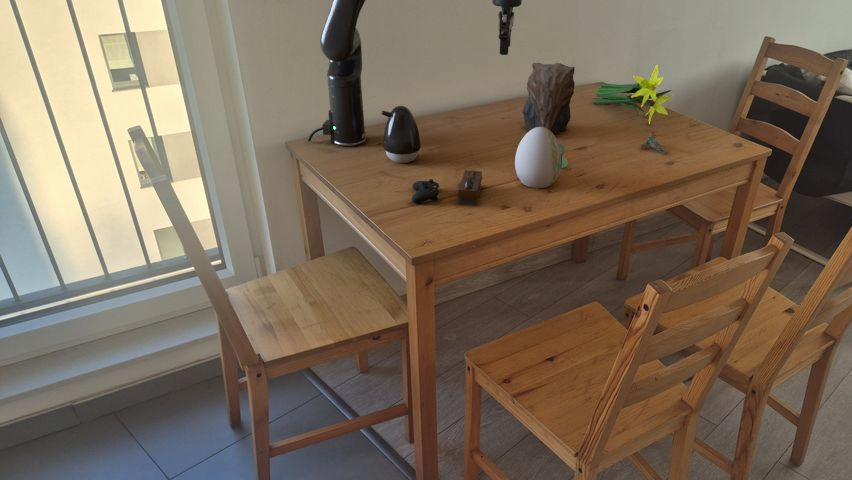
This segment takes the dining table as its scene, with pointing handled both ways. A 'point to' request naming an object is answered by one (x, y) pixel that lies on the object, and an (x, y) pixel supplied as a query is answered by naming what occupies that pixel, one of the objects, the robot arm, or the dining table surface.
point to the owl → (549, 97)
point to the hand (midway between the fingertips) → (504, 50)
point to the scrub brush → (470, 187)
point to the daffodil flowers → (639, 89)
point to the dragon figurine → (652, 142)
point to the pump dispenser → (401, 135)
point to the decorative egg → (538, 158)
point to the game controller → (425, 191)
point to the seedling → (564, 161)
